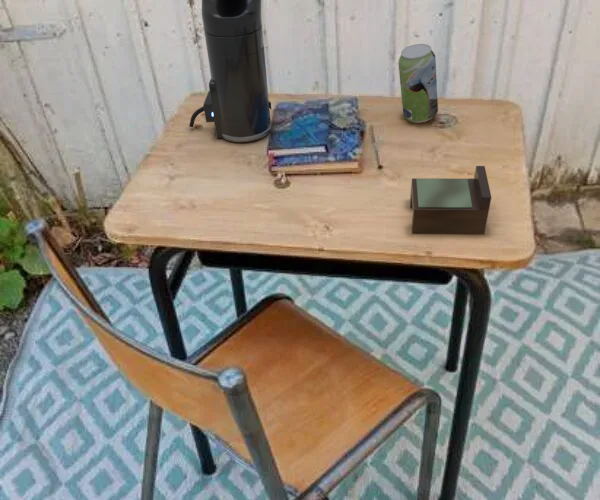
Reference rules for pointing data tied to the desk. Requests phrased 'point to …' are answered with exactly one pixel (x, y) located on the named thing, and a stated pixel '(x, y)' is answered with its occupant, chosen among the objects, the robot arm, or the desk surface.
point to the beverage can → (418, 83)
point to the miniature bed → (450, 205)
